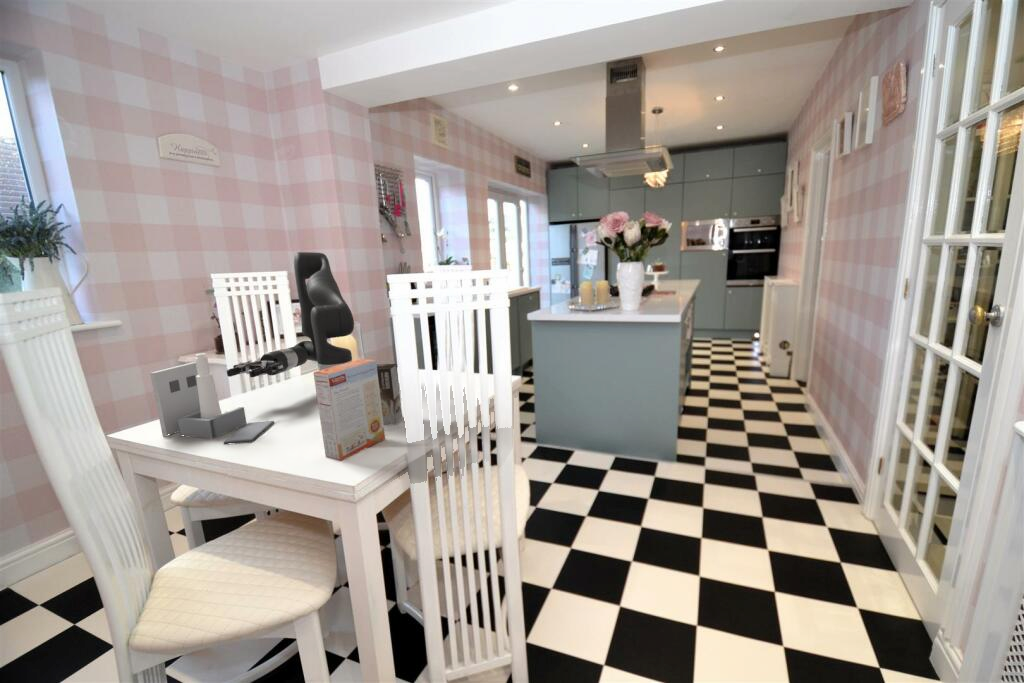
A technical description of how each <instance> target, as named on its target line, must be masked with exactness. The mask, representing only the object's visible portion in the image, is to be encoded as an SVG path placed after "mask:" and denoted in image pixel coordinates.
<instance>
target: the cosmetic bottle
mask: <svg viewBox="0 0 1024 683" xmlns="http://www.w3.org/2000/svg"><path fill="white" fill-rule="evenodd" d="M206 355H207V354H206V352H205V353H204V352H202V353H196V354H195V358H194V359H195V360H194V361H195V362H196V366H197V372H198V375H197V386H198V394H199V402H200V412H201V419H211V418H214V417H216V416H219V415H221V414H223V413H222V410H221V407H220V406H221V405H220V403H219V402H220V401H219V397H218V393H217V389H216V384H215V380H214V376H213V373H211V371H210V366H209V359H208V356H206Z"/></svg>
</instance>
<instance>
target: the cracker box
mask: <svg viewBox="0 0 1024 683" xmlns="http://www.w3.org/2000/svg"><path fill="white" fill-rule="evenodd" d="M313 379H314V385H315V386H314V387H315V392H316V400H317V406H318V407H317V408H318V413H319V420H320V426H321V434H322V441H323V448H324V455H325V457H326V458H331V459H332V460H333V459H334V460H338V461H340V460H341V461H342V460H346V459H348V458H349V457H351V456H354V455H355V454H357V453H359V452H361V451H364V450H365V449H367V448H370V447H371V446H373V445H375V444H377V443H380V442H382V441H384V440H385V439H386V434H385V425H384V424H383V415H382V406H381V398H380V389H379V381H378V373H377V360H375V359H366V358H360V359H356V360H352V362H348V363H345V364H341V365H338V366H334V367H330V368H327V369H323V370H316V371H314V372H313Z"/></svg>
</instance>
